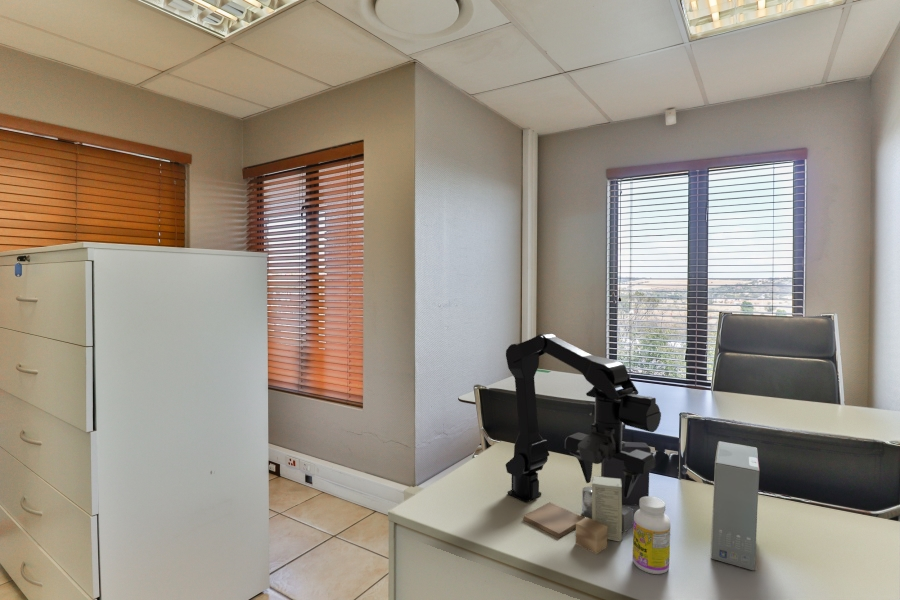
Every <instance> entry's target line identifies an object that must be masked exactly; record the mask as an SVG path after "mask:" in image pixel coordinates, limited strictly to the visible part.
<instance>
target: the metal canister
mask: <svg viewBox="0 0 900 600" xmlns="http://www.w3.org/2000/svg"><path fill="white" fill-rule="evenodd" d="M581 491H582V492H581V493H582V494H581V495H582V496H581V498H582V500H581V516H582V517H584V518H585V517H588V518H590V519H592V486H584V487H583V488H582V490H581Z"/></svg>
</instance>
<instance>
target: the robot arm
mask: <svg viewBox="0 0 900 600" xmlns="http://www.w3.org/2000/svg"><path fill="white" fill-rule="evenodd" d="M545 354H547V355H548V356H551V357H552V358H554V359H557V360H558V361H560V362H562V363H563V364H565V365H568V366H569V367H570V368H573V369H575V370H576V371H577V372H579V373H581V374H582V375H583V377H584V378H585V380H586V382H588V383H589V384H590V385H591V386H593V387H592V388H591V389H590V390H589V391H587V392H586V393H585V394H586V396H587V397H591V398H594V401H595V402H594V423H591V426H590V430H589V434H586V433H583V432H579V431H578V432H575V433H573V434H571V435H568V436H567V437H566V438H565V439H564V449H565V450H567V451H569V454H571V455H573V456H574V457H575V458H576V459H577V461H578V464H580V468H581V471H582V474H583V477H584V480H585V483H586V484H589V483H591V482H592V480H591V479H592V477H593V476H592V475H593V465H594V464H595V465H599V464H601V462H602V461H603V459H607V460H610V459H611V458H612V457H613V458H616V459H619V460H622V461H624V466H625V467H626V468H625V469H624V470H623V472H624V474H625V485H624V497H625V498H628V497H629V495H630V493H631V491H632V489H633V487H634V485H635V483H636V481H637V479H638V477H639V476H640V474H644V473H646V472H648V471H649V472H650V471H651V470H653V469H654V468H656V458H655V457H654V455H653V453H652V452H651V453H647V452H644V451H641V450H637V449H636V450H634V451H632V452H630V453H628V452H625V451H622V448H624V447H625V443H624V442H625V441H623V431H624V430H625V429H626V426H627V427H631V428H636V429H638V430H642V431H646V432H650V433H654V432H655V431H657V429H658V428H659V426H660V424H661V420H662V419H661V418H662V412H661V411H660V407H659V405H658V404H657V403H656V402H657V401H656V399H657V398H656V397H653V396H645V395H641V394H640V395H639V391H638V389H637V387H636V385H635V384H634V383H633V381H632V379H631V377H630V376H629V373H628V370H627V367H626V365H625V364H623V363H622V362H620V361H618V360H615V359H610V358H608V357H602V356H597V355H592V354H590V353H589V352H586V351H585V350H583V349H580V348H579V347H577V346H575V345H572V344H571V343H569V342H567V341H565V340H563V339H561V338H559V337H557V336H556V335H555V334H554V333H550V332H548V333H540V334H537V335H536V336H534V337H532V338H530V339H527V340H525V341H522V342H518V343H513V344H510V345H509V346H508V347H507V349H506V350H505V358H506V364H507V368H508V370H509V372H510V373H511V374H512V376H513V378H514V385H515V398H516V410H517V411H516V412H517V424H518V435H517V438H516V441H515V443H514V446H513V457H512V458H511V459H510V460H509V461H508V462H506V463H505V469H506V473H508V474H509V475H510V476H511V489H510V490H507V495H509V496H512V497H513V498H516V499H517V500H520V501H522V502H524V503H528V502H530V501H532V500H534V499H536V498H539V497H540V496H542V492H541V491H540V480H539V473H538V472H539V471H542V470H543V467H544V465H546V463H547V462H548V459H549V458H548V457H549V456H550V453H549V441H548V440H547V439H544V438H543V437H542V436H541V435H540V432H539V424H538V423H539V422H538V409H537V396H536V395H537V394H536V386H535V383H536V382H535V375H536V373H537V370H538V368H539V367H540V366H539V365H540V357H542V356H543V355H545ZM618 388H620V389H618Z"/></svg>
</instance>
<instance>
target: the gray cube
mask: <svg viewBox="0 0 900 600" xmlns="http://www.w3.org/2000/svg"><path fill="white" fill-rule="evenodd" d="M633 527H634V508H631V507H629V506H628V505H622V532H623V533H625V532H626V531H627V530H629V529H630V528H633Z"/></svg>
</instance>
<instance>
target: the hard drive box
mask: <svg viewBox="0 0 900 600" xmlns="http://www.w3.org/2000/svg"><path fill="white" fill-rule="evenodd" d="M714 460H715V461H714V476H713V477H714V478H713V479H714V481H713V493H712V494H713V495H712V497H713V498H712V499H713V501H712V517H711V518H712V519H711V537H710V538H711V541H710V559H713V560H716V561H720V562H722V563H726V564H728V565H733V566H735V567H740V568H743V569H747V570H751V571H755V569H756V568H755V567H756V555H757V554H756V553H757V532H758V531H757V529H758V528H757V527H758V502H759V485H760V484H759V483H760V464H759V463H760V462H759V457H758V448H757V447H755V446H749V445H744V444H739V443H731V442H725V441H720V440H719V441H718V442H717V447H716V453H715V459H714Z"/></svg>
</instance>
